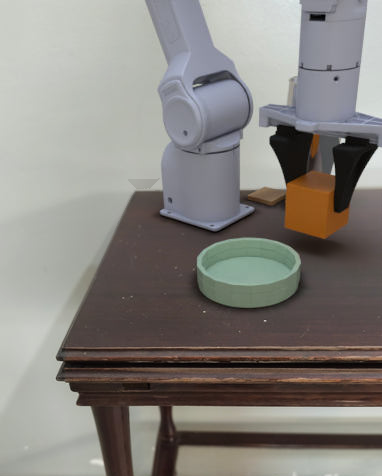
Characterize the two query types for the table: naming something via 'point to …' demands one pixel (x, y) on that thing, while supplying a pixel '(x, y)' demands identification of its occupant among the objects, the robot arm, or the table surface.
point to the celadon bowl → (248, 272)
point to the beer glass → (315, 140)
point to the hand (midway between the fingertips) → (317, 203)
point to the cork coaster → (267, 196)
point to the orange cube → (313, 205)
